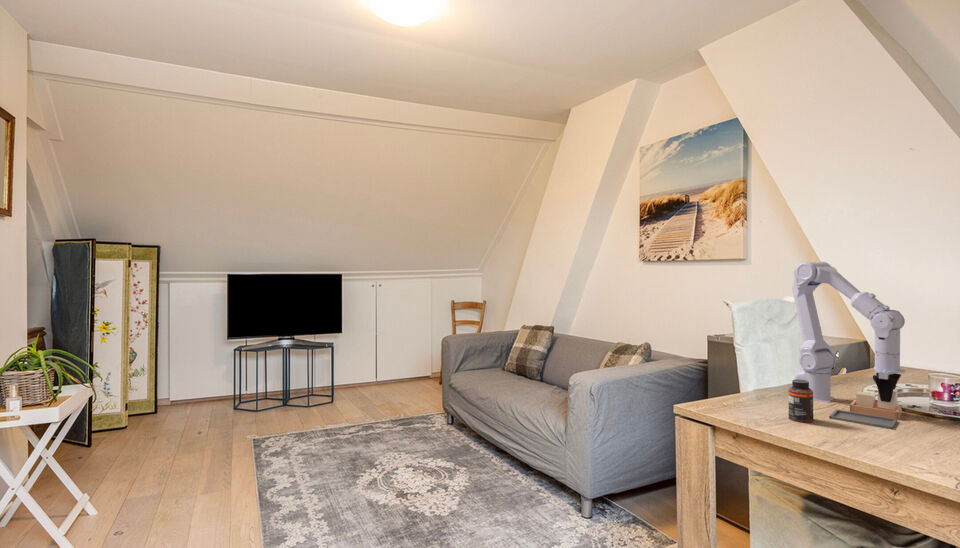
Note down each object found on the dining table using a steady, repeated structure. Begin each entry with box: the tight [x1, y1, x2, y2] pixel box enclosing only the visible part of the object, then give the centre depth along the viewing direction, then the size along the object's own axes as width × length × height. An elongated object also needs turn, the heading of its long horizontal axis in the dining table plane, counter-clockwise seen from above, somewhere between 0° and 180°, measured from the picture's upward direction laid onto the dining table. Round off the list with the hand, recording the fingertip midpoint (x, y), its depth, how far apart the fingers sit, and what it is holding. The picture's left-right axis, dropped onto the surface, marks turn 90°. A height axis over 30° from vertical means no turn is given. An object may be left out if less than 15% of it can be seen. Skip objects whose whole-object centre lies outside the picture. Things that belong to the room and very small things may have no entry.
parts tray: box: [828, 409, 898, 430], centre depth 144 cm, size 14×9×1 cm, turn 46°
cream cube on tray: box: [877, 388, 898, 410], centre depth 149 cm, size 4×4×5 cm
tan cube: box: [855, 390, 876, 408], centre depth 153 cm, size 4×4×5 cm
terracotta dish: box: [849, 398, 903, 421], centre depth 151 cm, size 11×9×2 cm
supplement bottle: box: [787, 379, 814, 424], centre depth 145 cm, size 6×6×11 cm
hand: (886, 399), depth 149 cm, fingers closed on cream cube on tray, 4 cm apart
